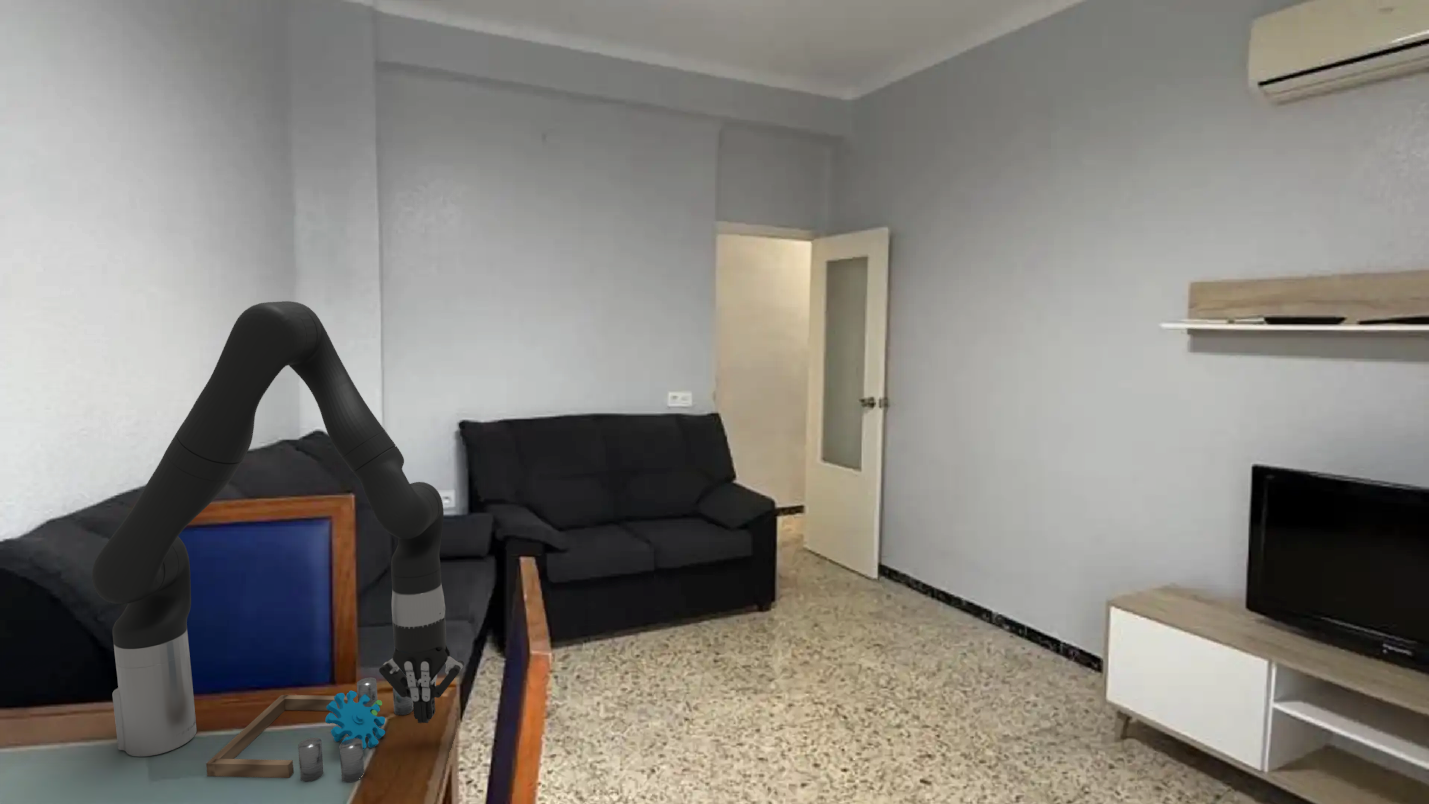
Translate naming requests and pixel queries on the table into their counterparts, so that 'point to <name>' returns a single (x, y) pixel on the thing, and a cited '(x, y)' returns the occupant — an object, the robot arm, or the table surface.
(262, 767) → the frame
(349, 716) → the gear
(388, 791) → the table surface
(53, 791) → the table surface
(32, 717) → the table surface
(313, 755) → the spacers
